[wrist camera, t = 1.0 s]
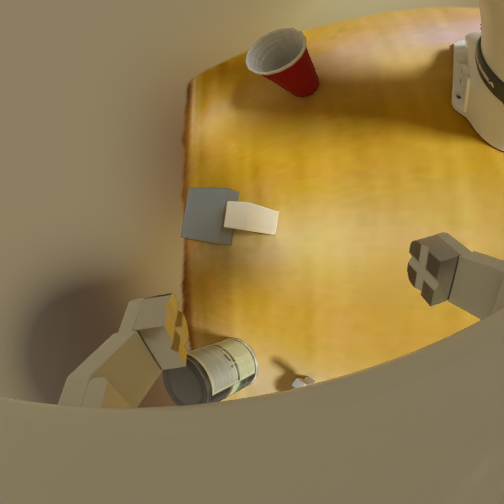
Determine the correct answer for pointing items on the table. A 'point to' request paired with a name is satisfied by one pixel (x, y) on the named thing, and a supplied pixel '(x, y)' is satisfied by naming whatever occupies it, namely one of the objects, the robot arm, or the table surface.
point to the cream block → (251, 217)
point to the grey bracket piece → (302, 382)
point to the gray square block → (208, 215)
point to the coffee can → (212, 373)
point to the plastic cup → (284, 61)
